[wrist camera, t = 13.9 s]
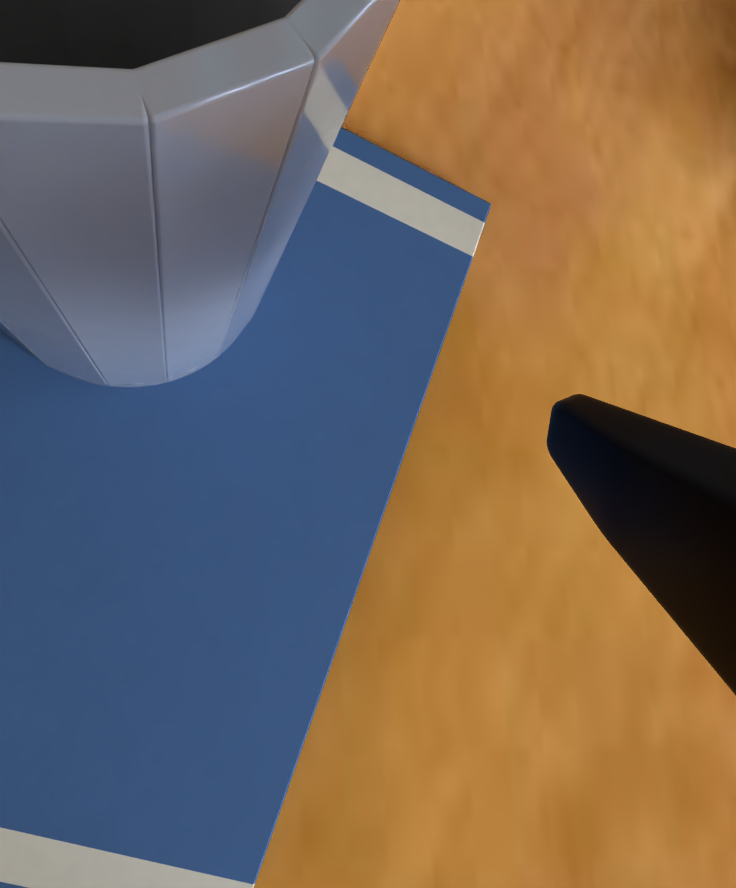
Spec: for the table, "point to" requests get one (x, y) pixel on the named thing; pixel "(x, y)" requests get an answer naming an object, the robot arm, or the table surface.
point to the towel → (210, 544)
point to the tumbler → (161, 168)
